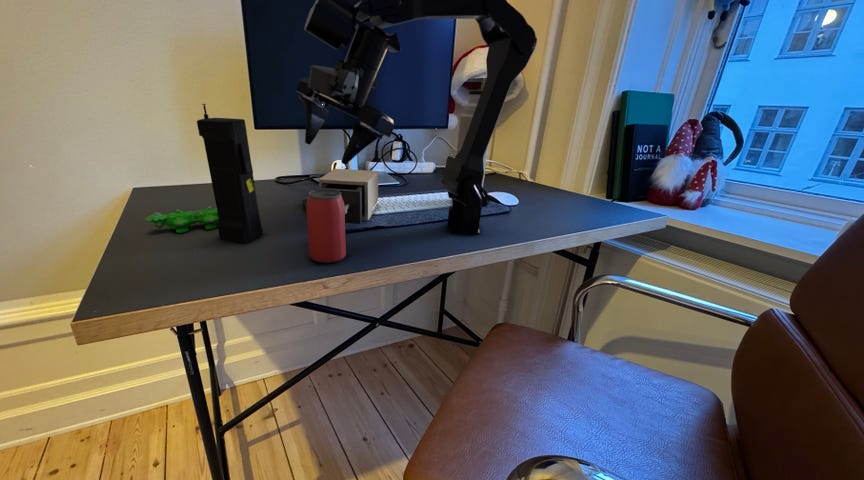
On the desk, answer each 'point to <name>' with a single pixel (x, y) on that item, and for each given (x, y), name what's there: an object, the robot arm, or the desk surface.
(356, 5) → the robot arm
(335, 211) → the beer can
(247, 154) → the portable radio
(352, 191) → the drawer
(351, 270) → the desk surface
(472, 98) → the thermos bottle
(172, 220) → the crocodile figurine
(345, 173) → the small drawer cabinet
